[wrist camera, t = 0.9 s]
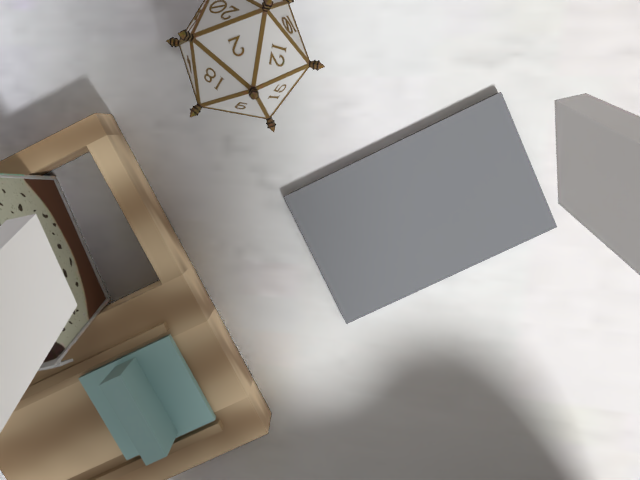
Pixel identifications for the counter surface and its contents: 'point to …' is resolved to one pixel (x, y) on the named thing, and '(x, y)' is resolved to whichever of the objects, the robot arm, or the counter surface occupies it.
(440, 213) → the mat
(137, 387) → the cover
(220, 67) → the game die
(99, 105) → the counter surface
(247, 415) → the wooden compartment tray
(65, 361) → the food container
